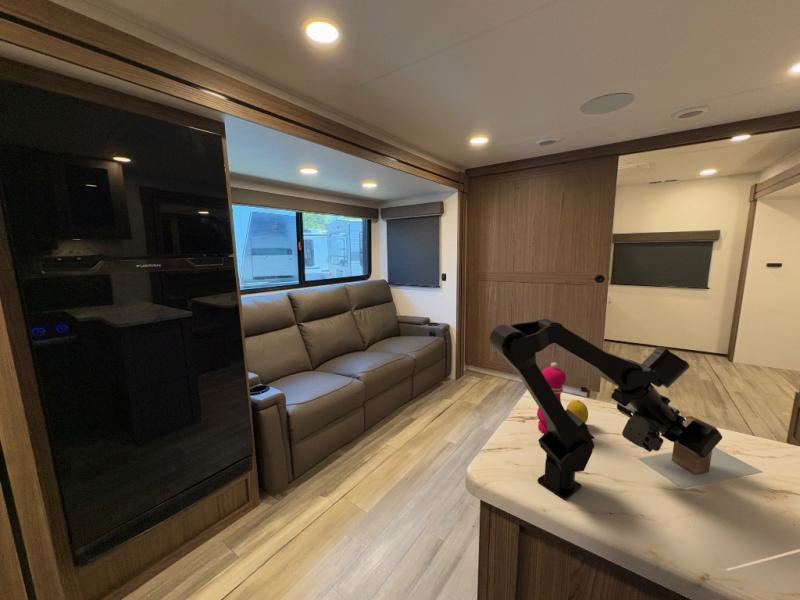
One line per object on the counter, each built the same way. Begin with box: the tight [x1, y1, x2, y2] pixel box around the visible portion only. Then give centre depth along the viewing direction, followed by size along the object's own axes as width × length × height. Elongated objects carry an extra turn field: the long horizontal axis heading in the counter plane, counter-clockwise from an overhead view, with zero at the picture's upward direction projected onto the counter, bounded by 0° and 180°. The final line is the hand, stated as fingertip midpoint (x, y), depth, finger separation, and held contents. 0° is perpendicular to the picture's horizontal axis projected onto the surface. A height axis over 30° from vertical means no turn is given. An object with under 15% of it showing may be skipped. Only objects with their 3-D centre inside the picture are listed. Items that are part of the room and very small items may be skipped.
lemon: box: [565, 399, 589, 424], centre depth 90 cm, size 6×6×8 cm
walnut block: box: [672, 415, 717, 475], centre depth 73 cm, size 4×5×11 cm
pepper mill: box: [536, 361, 567, 435], centre depth 88 cm, size 7×7×20 cm
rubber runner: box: [636, 446, 763, 489], centre depth 74 cm, size 23×10×1 cm, turn 102°
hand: (680, 440), depth 72 cm, fingers closed
